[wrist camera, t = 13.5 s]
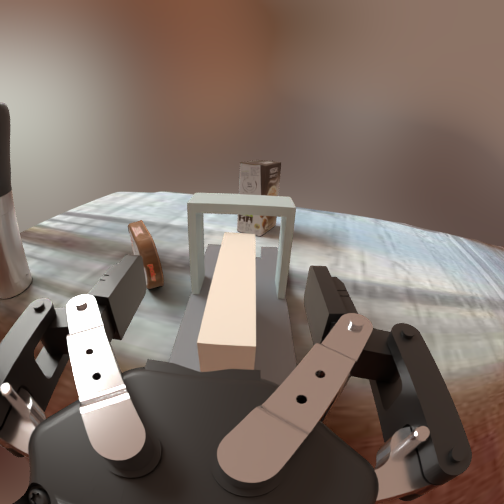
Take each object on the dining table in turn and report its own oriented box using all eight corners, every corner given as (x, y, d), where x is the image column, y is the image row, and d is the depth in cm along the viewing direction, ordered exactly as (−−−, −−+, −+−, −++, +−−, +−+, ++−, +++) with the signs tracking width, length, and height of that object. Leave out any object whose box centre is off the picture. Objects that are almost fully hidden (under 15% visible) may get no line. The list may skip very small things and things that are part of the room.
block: (208, 422, 19) (196, 342, 15) (224, 305, 35) (224, 232, 30) (248, 424, 19) (256, 346, 15) (250, 306, 35) (255, 233, 30)
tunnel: (192, 294, 36) (187, 202, 31) (198, 275, 41) (195, 192, 35) (284, 298, 36) (295, 207, 31) (281, 279, 41) (290, 197, 35)
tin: (167, 295, 39) (161, 244, 35) (147, 300, 37) (139, 248, 34) (146, 255, 50) (141, 213, 47) (131, 258, 49) (125, 216, 45)
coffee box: (261, 237, 61) (266, 165, 54) (236, 231, 63) (238, 162, 56) (276, 225, 68) (281, 162, 61) (253, 220, 71) (257, 159, 64)
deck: (150, 454, 17) (144, 446, 16) (208, 253, 52) (208, 244, 51) (303, 465, 17) (308, 457, 16) (276, 257, 52) (277, 247, 51)
